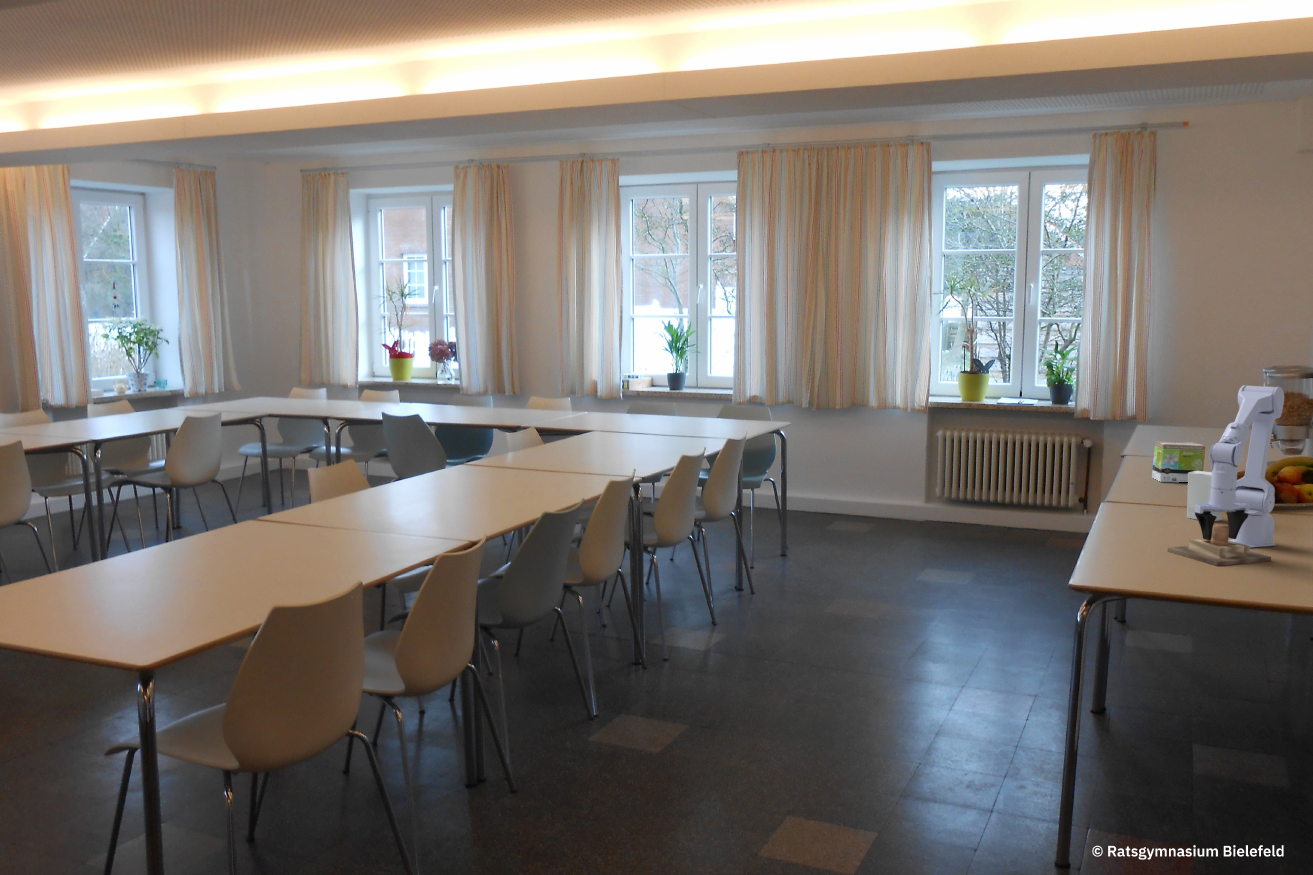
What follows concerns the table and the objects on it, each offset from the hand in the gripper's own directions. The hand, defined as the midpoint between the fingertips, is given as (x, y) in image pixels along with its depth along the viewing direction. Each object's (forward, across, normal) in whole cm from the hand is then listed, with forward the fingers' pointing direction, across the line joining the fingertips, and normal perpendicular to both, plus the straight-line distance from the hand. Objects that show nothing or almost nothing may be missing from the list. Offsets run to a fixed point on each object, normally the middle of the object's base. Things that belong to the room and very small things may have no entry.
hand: (1219, 538), depth 264 cm
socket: (+5, 0, 0) cm, 5 cm away
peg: (+4, 0, 0) cm, 4 cm away
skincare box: (+5, -29, -42) cm, 51 cm away
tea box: (+5, -68, -105) cm, 125 cm away
